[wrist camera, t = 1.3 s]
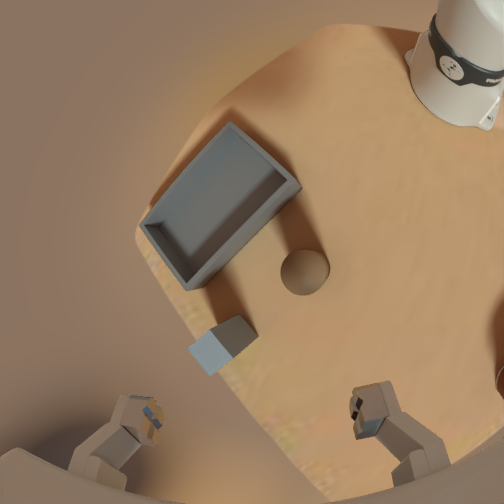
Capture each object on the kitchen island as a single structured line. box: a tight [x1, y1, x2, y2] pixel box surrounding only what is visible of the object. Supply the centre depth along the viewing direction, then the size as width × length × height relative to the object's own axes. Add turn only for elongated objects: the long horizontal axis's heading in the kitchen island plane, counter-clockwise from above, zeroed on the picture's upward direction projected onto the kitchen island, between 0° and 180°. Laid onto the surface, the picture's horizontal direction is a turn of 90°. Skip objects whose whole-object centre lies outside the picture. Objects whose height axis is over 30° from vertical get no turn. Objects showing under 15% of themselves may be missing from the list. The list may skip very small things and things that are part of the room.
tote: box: [139, 121, 302, 291], centre depth 41 cm, size 22×14×5 cm, turn 133°
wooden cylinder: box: [281, 250, 330, 295], centre depth 35 cm, size 5×5×9 cm
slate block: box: [188, 314, 258, 376], centre depth 38 cm, size 4×4×10 cm
